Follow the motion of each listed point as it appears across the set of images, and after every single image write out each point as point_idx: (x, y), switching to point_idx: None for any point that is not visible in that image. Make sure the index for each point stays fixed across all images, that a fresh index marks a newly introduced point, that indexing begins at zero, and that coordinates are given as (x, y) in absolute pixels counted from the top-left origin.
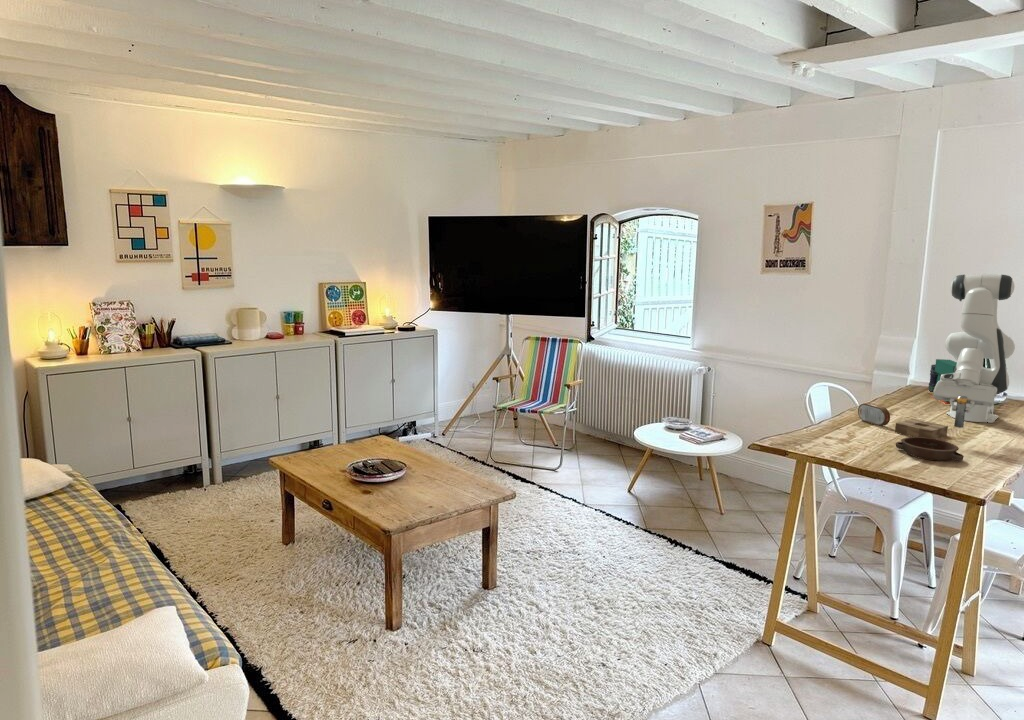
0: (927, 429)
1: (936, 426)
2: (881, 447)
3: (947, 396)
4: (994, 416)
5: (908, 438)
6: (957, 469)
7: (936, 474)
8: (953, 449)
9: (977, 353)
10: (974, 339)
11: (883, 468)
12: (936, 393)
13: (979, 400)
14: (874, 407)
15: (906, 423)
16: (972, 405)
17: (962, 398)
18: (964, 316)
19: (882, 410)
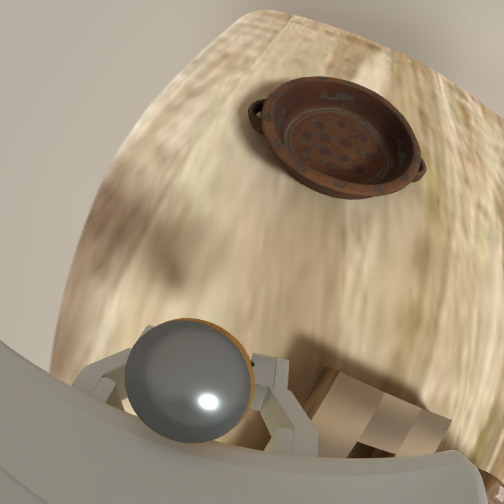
0: (354, 392)
1: None
2: (443, 183)
3: (358, 458)
4: None
5: (409, 165)
6: (269, 74)
7: (310, 47)
8: (279, 91)
9: None
10: None
11: (390, 58)
12: (459, 461)
13: (30, 362)
14: (501, 483)
15: (418, 447)
16: (107, 358)
17: (195, 324)
18: None
19: (489, 473)
